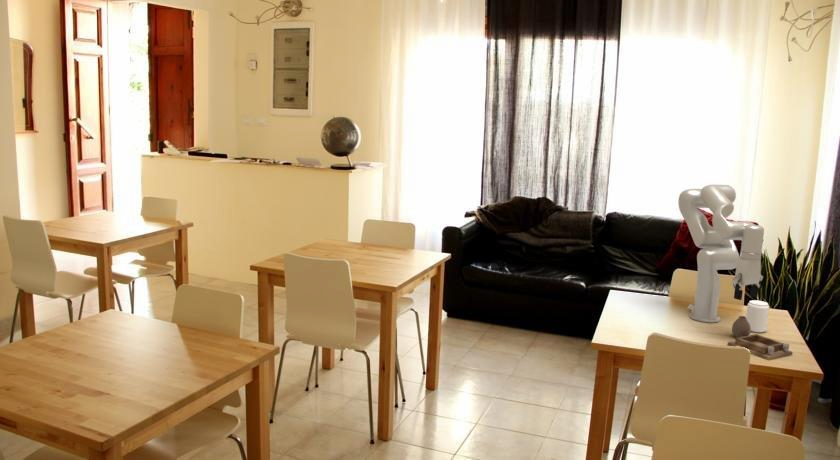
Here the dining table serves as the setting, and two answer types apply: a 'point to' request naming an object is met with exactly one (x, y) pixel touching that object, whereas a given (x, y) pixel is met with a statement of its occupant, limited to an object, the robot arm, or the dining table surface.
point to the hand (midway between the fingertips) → (745, 298)
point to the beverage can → (757, 315)
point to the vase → (741, 327)
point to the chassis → (762, 346)
